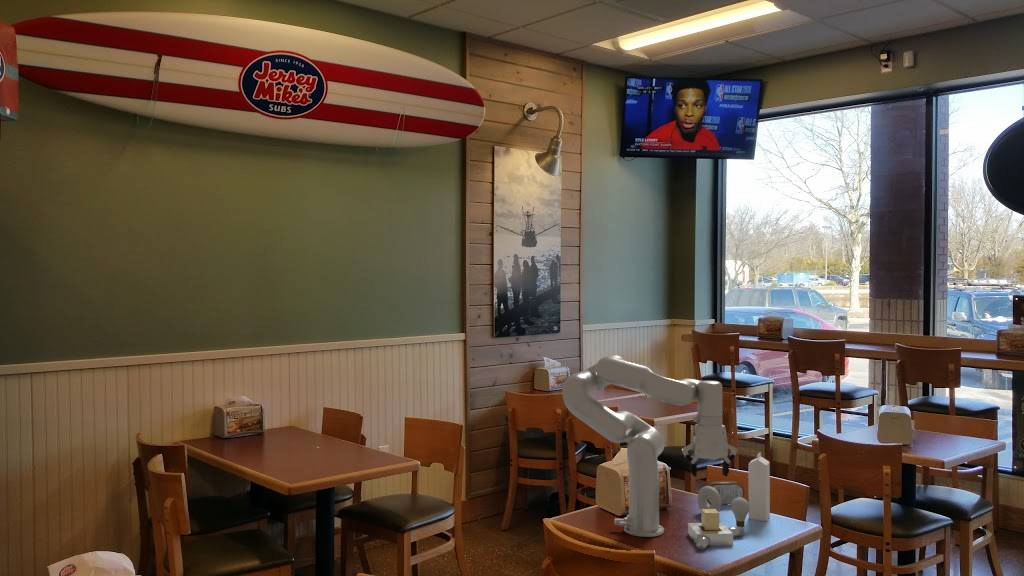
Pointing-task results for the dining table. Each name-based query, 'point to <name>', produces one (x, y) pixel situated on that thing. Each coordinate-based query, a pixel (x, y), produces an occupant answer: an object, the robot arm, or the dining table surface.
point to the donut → (713, 496)
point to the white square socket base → (711, 534)
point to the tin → (727, 491)
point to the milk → (759, 488)
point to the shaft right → (737, 531)
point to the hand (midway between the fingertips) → (709, 475)
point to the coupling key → (709, 520)
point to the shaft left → (703, 542)
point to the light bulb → (740, 510)
